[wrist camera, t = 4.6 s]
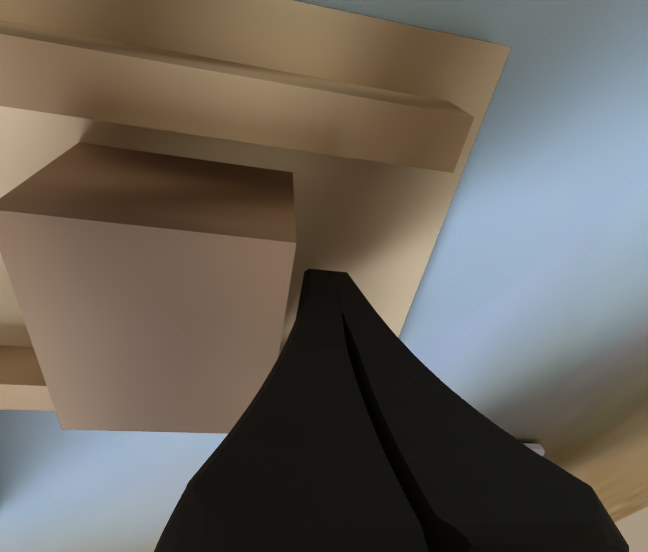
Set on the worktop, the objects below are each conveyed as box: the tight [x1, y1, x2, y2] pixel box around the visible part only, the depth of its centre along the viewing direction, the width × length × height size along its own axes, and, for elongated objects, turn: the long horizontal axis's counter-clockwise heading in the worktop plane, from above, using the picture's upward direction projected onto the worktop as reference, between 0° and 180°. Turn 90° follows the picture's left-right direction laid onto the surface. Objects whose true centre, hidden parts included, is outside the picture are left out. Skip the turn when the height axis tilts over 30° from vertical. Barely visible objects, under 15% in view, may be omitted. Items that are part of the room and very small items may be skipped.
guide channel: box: [0, 0, 511, 411], centre depth 10 cm, size 18×13×4 cm
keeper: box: [0, 142, 296, 433], centre depth 10 cm, size 5×6×4 cm
